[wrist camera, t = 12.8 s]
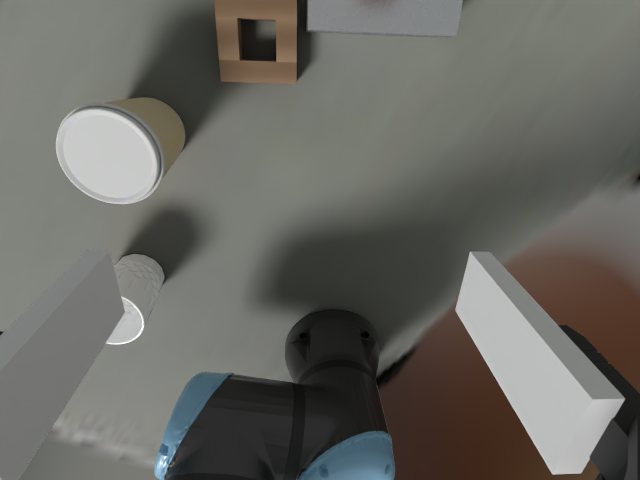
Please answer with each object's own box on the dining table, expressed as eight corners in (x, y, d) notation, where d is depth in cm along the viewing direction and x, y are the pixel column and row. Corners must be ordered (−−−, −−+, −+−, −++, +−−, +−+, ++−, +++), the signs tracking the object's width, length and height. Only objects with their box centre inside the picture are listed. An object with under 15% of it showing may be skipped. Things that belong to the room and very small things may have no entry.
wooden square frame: (296, 81, 43) (296, 84, 40) (225, 79, 42) (220, 81, 40) (297, -2, 39) (297, -5, 37) (219, -6, 39) (213, -9, 36)
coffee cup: (104, 151, 45) (45, 184, 35) (120, 74, 42) (59, 85, 31) (180, 181, 48) (147, 220, 37) (202, 110, 44) (172, 132, 33)
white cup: (178, 267, 53) (155, 312, 45) (154, 304, 56) (127, 353, 47) (124, 239, 51) (88, 281, 42) (102, 280, 54) (64, 326, 45)
